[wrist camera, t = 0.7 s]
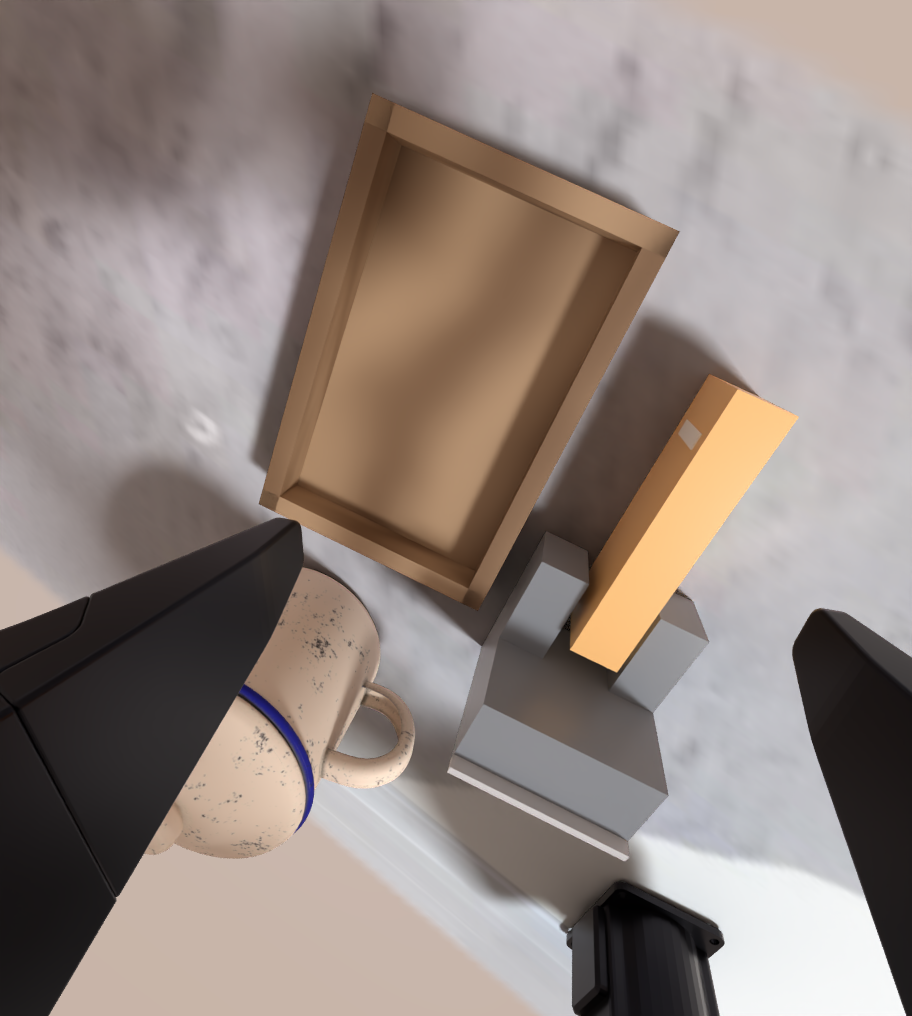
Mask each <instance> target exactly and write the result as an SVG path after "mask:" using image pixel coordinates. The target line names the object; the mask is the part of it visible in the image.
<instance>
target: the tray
mask: <svg viewBox="0 0 912 1016" xmlns="http://www.w3.org/2000/svg"><path fill="white" fill-rule="evenodd" d="M679 232H680V231H677V230H675V229H673V228H671V227H669V226H666V225H664V224H662V223H660V222H657V221H655V220H653V219H651V218H649V217H646V216H644V215H642V214H640V213H637V212H635V211H633V210H631V209H629V208H626V207H624V206H622V205H620V204H617V203H615V202H613V201H611V200H609V199H606V198H604V197H602V196H600V195H598V194H595V193H593V192H591V191H589V190H586V189H584V188H582V187H580V186H578V185H575V184H573V183H571V182H569V181H566V180H564V179H562V178H560V177H558V176H555V175H553V174H551V173H549V172H547V171H544V170H542V169H540V168H538V167H535V166H533V165H531V164H529V163H527V162H524V161H522V160H520V159H518V158H515V157H513V156H511V155H509V154H507V153H504V152H502V151H500V150H498V149H496V148H493V147H491V146H489V145H487V144H484V143H482V142H480V141H478V140H476V139H473V138H471V137H469V136H467V135H464V134H462V133H460V132H458V131H456V130H453V129H451V128H449V127H447V126H445V125H442V124H440V123H438V122H436V121H433V120H431V119H429V118H427V117H425V116H422V115H420V114H418V113H416V112H413V111H411V110H409V109H407V108H405V107H402V106H400V105H398V104H396V103H393V102H391V101H389V100H387V99H385V98H382V97H380V96H378V95H376V94H374V93H372V96H371V100H370V103H369V107H368V111H367V114H366V118H365V121H364V125H363V129H362V132H361V136H360V139H359V143H358V147H357V150H356V154H355V158H354V161H353V165H352V168H351V172H350V176H349V179H348V183H347V186H346V190H345V194H344V197H343V201H342V205H341V208H340V212H339V215H338V219H337V223H336V226H335V230H334V233H333V237H332V241H331V244H330V248H329V252H328V255H327V259H326V262H325V266H324V270H323V273H322V277H321V280H320V284H319V288H318V291H317V295H316V299H315V302H314V306H313V309H312V313H311V317H310V320H309V324H308V328H307V331H306V335H305V338H304V342H303V346H302V349H301V353H300V356H299V360H298V364H297V367H296V371H295V375H294V378H293V382H292V385H291V389H290V393H289V396H288V400H287V403H286V407H285V411H284V414H283V418H282V422H281V425H280V429H279V432H278V436H277V440H276V443H275V447H274V450H273V454H272V458H271V461H270V465H269V469H268V472H267V476H266V479H265V483H264V487H263V490H262V494H261V497H260V501H259V504H260V505H262V506H264V507H266V508H268V509H270V510H272V511H274V512H276V513H278V514H280V515H282V516H284V517H286V518H288V519H290V520H296V521H298V522H299V523H300V524H301V525H303V526H305V527H307V528H309V529H311V530H313V531H315V532H317V533H319V534H321V535H323V536H325V537H327V538H329V539H331V540H333V541H336V542H338V543H340V544H342V545H344V546H346V547H348V548H350V549H352V550H354V551H356V552H358V553H360V554H362V555H364V556H366V557H368V558H370V559H372V560H374V561H376V562H379V563H381V564H383V565H385V566H387V567H389V568H391V569H393V570H395V571H397V572H399V573H401V574H403V575H405V576H407V577H409V578H411V579H413V580H415V581H417V582H419V583H422V584H424V585H426V586H428V587H430V588H432V589H434V590H436V591H438V592H440V593H442V594H444V595H446V596H448V597H450V598H452V599H454V600H456V601H458V602H460V603H463V604H465V605H467V606H469V607H471V608H473V609H475V610H477V611H478V610H479V608H480V606H481V604H482V602H483V601H484V599H485V597H486V595H487V593H488V591H489V589H490V587H491V586H492V584H493V582H494V580H495V578H496V576H497V574H498V572H499V571H500V569H501V567H502V565H503V563H504V561H505V559H506V557H507V555H508V554H509V552H510V550H511V548H512V546H513V544H514V542H515V540H516V539H517V537H518V535H519V533H520V531H521V529H522V527H523V525H524V523H525V522H526V520H527V518H528V516H529V514H530V512H531V510H532V508H533V507H534V505H535V503H536V501H537V499H538V497H539V495H540V493H541V491H542V490H543V488H544V486H545V484H546V482H547V480H548V478H549V476H550V475H551V473H552V471H553V469H554V467H555V465H556V463H557V461H558V459H559V458H560V456H561V454H562V452H563V450H564V448H565V446H566V444H567V443H568V441H569V439H570V437H571V435H572V433H573V431H574V429H575V427H576V426H577V424H578V422H579V420H580V418H581V416H582V414H583V412H584V411H585V409H586V407H587V405H588V403H589V401H590V399H591V397H592V396H593V394H594V392H595V390H596V388H597V386H598V384H599V382H600V380H601V379H602V377H603V375H604V373H605V371H606V369H607V367H608V365H609V364H610V362H611V360H612V358H613V356H614V354H615V352H616V350H617V348H618V347H619V345H620V343H621V341H622V339H623V337H624V335H625V333H626V332H627V330H628V328H629V326H630V324H631V322H632V320H633V318H634V316H635V315H636V313H637V311H638V309H639V307H640V305H641V303H642V301H643V300H644V298H645V296H646V294H647V292H648V290H649V288H650V286H651V284H652V283H653V281H654V279H655V277H656V275H657V273H658V271H659V269H660V268H661V266H662V264H663V262H664V260H665V258H666V256H667V254H668V252H669V251H670V249H671V247H672V245H673V243H674V241H675V239H676V237H677V236H678V234H679Z"/></svg>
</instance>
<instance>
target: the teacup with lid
mask: <svg viewBox="0 0 912 1016" xmlns="http://www.w3.org/2000/svg"><path fill="white" fill-rule="evenodd" d="M379 663H380V643H379V638H378V634H377V631H376V628H375V625H374V623H373V621H372V619H371V617H370V615H369V613H368V612H367V610H366V609H365V607H364V606H363V605H362V604H361V602H360V601H359V600H358V599H357V598H356V597H355V596H354V595H353V594H352V593H351V592H350V591H349V590H348V589H347V588H346V587H344V586H343V585H341V584H340V583H339V582H337V581H335V580H334V579H332V578H330V577H328V576H327V575H325V574H322V573H320V572H317V571H315V570H312V569H308V568H304V567H302V569H301V572H300V574H299V576H298V579H297V581H296V583H295V585H294V588H293V590H292V592H291V594H290V597H289V599H288V601H287V604H286V606H285V608H284V610H283V613H282V615H281V617H280V619H279V622H278V624H277V626H276V628H275V630H274V632H273V634H272V637H271V638H270V640H269V642H268V644H267V646H266V647H265V649H264V651H263V653H262V654H261V656H260V658H259V659H258V661H257V663H256V664H255V666H254V668H253V670H252V671H251V673H250V675H249V676H248V678H247V680H246V681H245V683H244V685H243V686H242V688H241V690H240V692H239V693H238V695H237V697H236V698H235V700H234V702H233V703H232V705H231V707H230V709H229V710H228V712H227V714H226V715H225V717H224V719H223V720H222V722H221V724H220V725H219V727H218V729H217V731H216V732H215V734H214V736H213V737H212V739H211V741H210V742H209V744H208V746H207V747H206V749H205V751H204V753H203V754H202V756H201V758H200V759H199V761H198V763H197V764H196V766H195V768H194V770H193V771H192V773H191V775H190V776H189V778H188V780H187V781H186V783H185V785H184V786H183V788H182V790H181V792H180V793H179V795H178V797H177V798H176V800H175V802H174V803H173V805H172V807H171V808H170V810H169V812H168V814H167V815H166V817H165V819H164V820H163V822H162V824H161V825H160V827H159V829H158V831H157V832H156V834H155V836H154V837H153V839H152V841H151V842H150V844H149V846H148V847H147V849H146V851H145V853H144V854H149V855H155V854H159V853H162V852H164V851H166V850H168V849H169V848H170V847H171V846H172V845H173V844H174V843H175V844H177V845H179V846H181V847H183V848H186V849H189V850H191V851H194V852H197V853H200V854H204V855H209V856H213V857H220V858H248V857H254V856H257V855H261V854H264V853H266V852H269V851H271V850H273V849H274V848H276V847H278V846H280V845H281V844H283V843H284V842H285V841H286V840H288V839H289V838H290V837H291V836H292V835H293V834H294V833H295V832H296V831H297V830H298V829H299V828H300V827H301V826H302V824H303V823H304V822H305V820H306V818H307V816H308V814H309V812H310V810H311V807H312V804H313V798H314V790H315V788H316V787H317V785H318V783H319V781H320V779H321V778H324V779H327V780H329V781H332V782H335V783H338V784H341V785H344V786H348V787H353V788H362V789H364V788H374V787H378V786H382V785H384V784H387V783H389V782H391V781H393V780H394V779H396V778H397V777H398V776H399V775H400V774H401V773H402V772H403V771H404V769H405V768H406V766H407V765H408V763H409V760H410V758H411V755H412V751H413V746H414V739H415V727H414V722H413V718H412V715H411V712H410V710H409V708H408V707H407V705H406V704H405V702H404V701H403V700H402V699H401V698H400V697H399V696H398V695H396V694H395V693H394V692H392V691H390V690H389V689H387V688H385V687H382V686H380V685H377V684H375V683H373V681H374V679H375V677H376V674H377V671H378V668H379ZM360 705H362V706H365V707H368V708H370V709H373V710H375V711H377V712H379V713H381V714H382V715H384V716H385V717H386V718H388V719H389V720H390V722H391V723H392V724H393V726H394V728H395V730H396V733H397V737H398V743H397V745H396V746H395V748H394V749H393V750H392V751H391V752H389V753H388V754H386V755H383V756H380V757H377V758H370V759H364V758H357V757H353V756H349V755H346V754H343V753H340V752H337V751H336V749H337V748H338V746H339V744H340V742H341V740H342V738H343V736H344V735H345V733H346V731H347V729H348V727H349V725H350V723H351V722H352V720H353V718H354V716H355V714H356V712H357V710H358V709H359V707H360Z"/></svg>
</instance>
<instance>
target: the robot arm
mask: <svg viewBox="0 0 912 1016" xmlns="http://www.w3.org/2000/svg"><path fill="white" fill-rule="evenodd" d="M303 561H304V554H303V542H302V531H301V526H300V523H299V522H298V521H296V520H290V519H285V518H275V519H272V520H270V521H267V522H265V523H262V524H260V525H258V526H255V527H253V528H250V529H248V530H246V531H243V532H241V533H238V534H236V535H234V536H231V537H229V538H226V539H224V540H221V541H219V542H217V543H214V544H212V545H209V546H207V547H205V548H202V549H200V550H197V551H195V552H192V553H190V554H188V555H185V556H183V557H180V558H178V559H176V560H173V561H171V562H168V563H166V564H163V565H161V566H159V567H156V568H154V569H151V570H149V571H147V572H144V573H142V574H139V575H137V576H134V577H132V578H130V579H127V580H125V581H122V582H120V583H118V584H115V585H113V586H110V587H108V588H106V589H103V590H101V591H98V592H96V593H93V594H92V595H91V596H90V598H89V597H83V598H81V599H79V600H76V601H74V602H72V603H69V604H67V605H64V606H62V607H59V608H57V609H54V610H52V611H49V612H47V613H44V614H42V615H40V616H37V617H34V618H32V619H29V620H27V621H24V622H22V623H19V624H16V625H13V626H10V627H8V628H5V629H2V630H0V1016H49V1014H50V1012H51V1011H52V1009H53V1007H54V1006H55V1004H56V1002H57V1001H58V999H59V997H60V996H61V994H62V992H63V990H64V989H65V987H66V985H67V984H68V982H69V980H70V979H71V977H72V975H73V973H74V972H75V970H76V968H77V967H78V965H79V963H80V962H81V960H82V958H83V957H84V955H85V953H86V952H87V950H88V948H89V946H90V945H91V943H92V941H93V940H94V938H95V936H96V935H97V933H98V931H99V929H100V928H101V926H102V924H103V923H104V921H105V919H106V918H107V916H108V914H109V912H110V911H111V909H112V907H113V906H114V904H115V902H116V897H117V896H119V895H120V893H121V891H122V890H123V888H124V886H125V884H126V883H127V881H128V880H129V878H130V876H131V875H132V873H133V871H134V869H135V868H136V866H137V864H138V863H139V861H140V859H141V858H142V856H143V854H144V853H145V851H146V849H147V847H148V846H149V844H150V842H151V841H152V839H153V837H154V836H155V834H156V832H157V831H158V829H159V827H160V825H161V824H162V822H163V820H164V819H165V817H166V815H167V814H168V812H169V810H170V808H171V807H172V805H173V803H174V802H175V800H176V798H177V797H178V795H179V793H180V792H181V790H182V788H183V786H184V785H185V783H186V781H187V780H188V778H189V776H190V775H191V773H192V771H193V770H194V768H195V766H196V764H197V763H198V761H199V759H200V758H201V756H202V754H203V753H204V751H205V749H206V747H207V746H208V744H209V742H210V741H211V739H212V737H213V736H214V734H215V732H216V731H217V729H218V727H219V725H220V724H221V722H222V720H223V719H224V717H225V715H226V714H227V712H228V710H229V709H230V707H231V705H232V703H233V702H234V700H235V698H236V697H237V695H238V693H239V692H240V690H241V688H242V686H243V685H244V683H245V681H246V680H247V678H248V676H249V675H250V673H251V671H252V670H253V668H254V666H255V664H256V663H257V661H258V659H259V658H260V656H261V654H262V653H263V651H264V649H265V647H266V646H267V644H268V642H269V640H270V638H271V637H272V634H273V632H274V630H275V628H276V626H277V624H278V622H279V619H280V617H281V615H282V613H283V610H284V608H285V606H286V604H287V601H288V599H289V597H290V594H291V592H292V590H293V588H294V585H295V583H296V581H297V579H298V576H299V574H300V572H301V569H302V566H303ZM792 656H793V661H794V666H795V670H796V675H797V679H798V684H799V688H800V693H801V697H802V702H803V706H804V711H805V715H806V720H807V724H808V728H809V732H810V736H811V740H812V743H813V746H814V749H815V753H816V756H817V759H818V762H819V764H820V767H821V770H822V773H823V776H824V779H825V782H826V785H827V788H828V791H829V793H830V796H831V799H832V802H833V805H834V808H835V811H836V814H837V817H838V819H839V822H840V825H841V828H842V831H843V834H844V837H845V840H846V843H847V846H848V848H849V851H850V854H851V857H852V860H853V863H854V866H855V869H856V872H857V874H858V877H859V880H860V883H861V886H862V889H863V892H864V895H865V898H866V901H867V903H868V906H869V909H870V912H871V915H872V918H873V921H874V924H875V927H876V929H877V932H878V935H879V938H880V941H881V944H882V947H883V950H884V953H885V955H886V958H887V961H888V964H889V967H890V970H891V973H892V976H893V979H894V982H895V984H896V987H897V990H898V993H899V996H900V999H901V1002H902V1005H903V1008H904V1010H905V1013H906V1016H912V657H910V656H909V655H907V654H906V653H904V652H903V651H901V650H900V649H898V648H897V647H895V646H894V645H893V644H891V643H890V642H888V641H887V640H885V639H884V638H882V637H881V636H879V635H878V634H876V633H875V632H873V631H872V630H870V629H869V628H868V627H866V626H865V625H863V624H862V623H860V622H859V621H857V620H856V619H854V618H853V617H851V616H850V615H848V614H847V613H844V612H841V611H835V610H829V609H823V608H819V609H816V610H814V611H813V612H812V613H811V614H810V616H809V618H808V619H807V621H806V623H805V625H804V626H803V628H802V630H801V631H800V633H799V635H798V637H797V638H796V640H795V642H794V645H793V650H792ZM723 945H724V938H723V934H722V932H721V931H720V930H718V929H717V928H715V927H713V926H711V925H709V924H707V923H705V922H703V921H701V920H699V919H697V918H695V917H693V916H691V915H689V914H687V913H685V912H683V911H681V910H679V909H677V908H675V907H673V906H671V905H669V904H667V903H665V902H663V901H661V900H659V899H657V898H655V897H653V896H651V895H649V894H647V893H645V892H643V891H641V890H639V889H637V888H635V887H633V886H631V885H629V884H627V883H625V882H616V883H614V884H613V885H612V886H611V887H610V888H609V890H608V891H607V892H606V893H605V894H604V895H603V896H602V897H601V898H600V899H599V900H598V901H597V902H596V904H595V905H594V906H592V907H591V908H590V909H589V910H588V911H587V913H586V914H585V915H584V916H583V917H582V918H581V919H580V920H579V921H578V922H577V923H576V924H575V925H574V927H573V928H572V929H571V930H570V931H569V933H568V934H567V946H568V947H569V948H570V949H572V1008H573V1010H574V1013H575V1014H576V1015H578V1016H720V1015H719V1010H718V1005H717V1000H716V995H715V990H714V985H713V980H712V975H711V970H710V965H709V960H708V958H709V957H711V956H712V955H713V954H714V953H715V952H717V951H718V950H719V949H720V948H721V947H723Z"/></svg>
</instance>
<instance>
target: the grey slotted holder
mask: <svg viewBox="0 0 912 1016" xmlns="http://www.w3.org/2000/svg"><path fill="white" fill-rule="evenodd" d="M588 586H589V567H588V551H587V550H584V549H582V548H580V547H578V546H576V545H574V544H572V543H570V542H568V541H566V540H564V539H561V538H559V537H557V536H555V535H553V534H551V533H549V532H547V531H546V532H545V534H544V536H543V537H542V539H541V541H540V543H539V545H538V546H537V548H536V550H535V552H534V554H533V555H532V557H531V559H530V561H529V563H528V564H527V566H526V568H525V570H524V572H523V573H522V575H521V577H520V579H519V581H518V582H517V584H516V586H515V588H514V590H513V591H512V593H511V595H510V597H509V599H508V600H507V602H506V604H505V606H504V608H503V609H502V611H501V613H500V615H499V617H498V618H497V620H496V622H495V624H494V626H493V627H492V629H491V631H490V633H489V635H488V636H487V638H486V640H485V642H484V644H483V645H482V647H481V651H480V655H479V658H478V662H477V666H476V669H475V673H474V676H473V680H472V684H471V687H470V691H469V695H468V698H467V702H466V705H465V709H464V713H463V716H462V720H461V724H460V727H459V731H458V734H457V738H456V742H455V745H454V749H453V752H452V756H451V760H450V763H449V767H448V771H447V773H449V774H451V775H453V776H455V777H457V778H459V779H461V780H463V781H465V782H467V783H469V784H471V785H473V786H475V787H477V788H479V789H481V790H483V791H485V792H487V793H489V794H491V795H493V796H495V797H497V798H499V799H501V800H503V801H505V802H507V803H509V804H511V805H513V806H515V807H517V808H519V809H521V810H523V811H525V812H527V813H529V814H531V815H533V816H535V817H537V818H539V819H541V820H543V821H545V822H547V823H549V824H551V825H553V826H555V827H557V828H559V829H561V830H563V831H565V832H567V833H569V834H571V835H573V836H575V837H577V838H579V839H581V840H583V841H585V842H587V843H589V844H591V845H593V846H595V847H597V848H599V849H601V850H603V851H605V852H607V853H609V854H611V855H613V856H615V857H617V858H619V859H621V860H623V861H626V860H627V859H628V858H629V848H628V840H629V839H630V838H631V837H632V836H633V835H634V834H635V833H636V831H637V830H638V829H639V828H640V827H641V826H642V825H643V824H644V823H645V821H646V820H647V819H648V818H649V817H650V816H651V815H652V814H653V813H654V811H655V810H656V809H657V808H658V807H659V806H660V805H661V804H662V802H663V801H664V800H665V799H666V798H667V797H668V790H667V785H666V780H665V775H664V769H663V764H662V759H661V753H660V748H659V743H658V737H657V732H656V727H655V721H654V716H653V712H654V711H655V710H656V709H657V707H658V706H659V705H660V704H661V702H662V701H663V700H664V699H665V697H666V696H667V695H668V693H669V692H670V691H671V690H672V688H673V687H674V686H675V685H676V683H677V682H678V681H679V680H680V678H681V677H682V676H683V675H684V673H685V672H686V671H687V670H688V668H689V667H690V666H691V665H692V663H693V662H694V661H695V659H696V658H697V657H698V656H699V654H700V653H701V652H702V651H703V649H704V648H705V647H706V646H707V644H708V643H709V640H708V638H707V635H706V633H705V630H704V628H703V625H702V623H701V620H700V618H699V615H698V613H697V610H696V607H695V605H694V602H693V601H691V600H689V599H687V598H685V597H682V596H680V595H678V594H676V593H673V595H672V596H671V597H670V599H669V600H668V602H667V603H666V604H665V606H664V607H663V609H662V610H661V611H660V613H659V614H658V616H657V617H656V618H655V620H654V621H653V623H652V624H651V626H650V627H649V628H648V630H647V631H646V633H645V634H644V635H643V637H642V638H641V640H640V641H639V642H638V644H637V645H636V647H635V648H634V649H633V651H632V652H631V654H630V655H629V656H628V658H627V659H626V661H625V662H624V663H623V665H622V666H621V668H620V669H619V671H618V672H615V671H612V670H610V669H608V668H606V667H604V666H602V665H600V664H598V663H596V662H594V661H592V660H590V659H588V658H586V657H584V656H581V655H579V654H577V653H575V652H573V651H571V650H570V631H569V630H567V629H565V628H563V626H564V624H565V622H566V621H567V619H568V618H569V616H570V614H571V613H572V611H573V610H574V608H575V606H576V605H577V603H578V602H579V600H580V598H581V597H582V595H583V594H584V592H585V591H586V589H587V587H588Z"/></svg>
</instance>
